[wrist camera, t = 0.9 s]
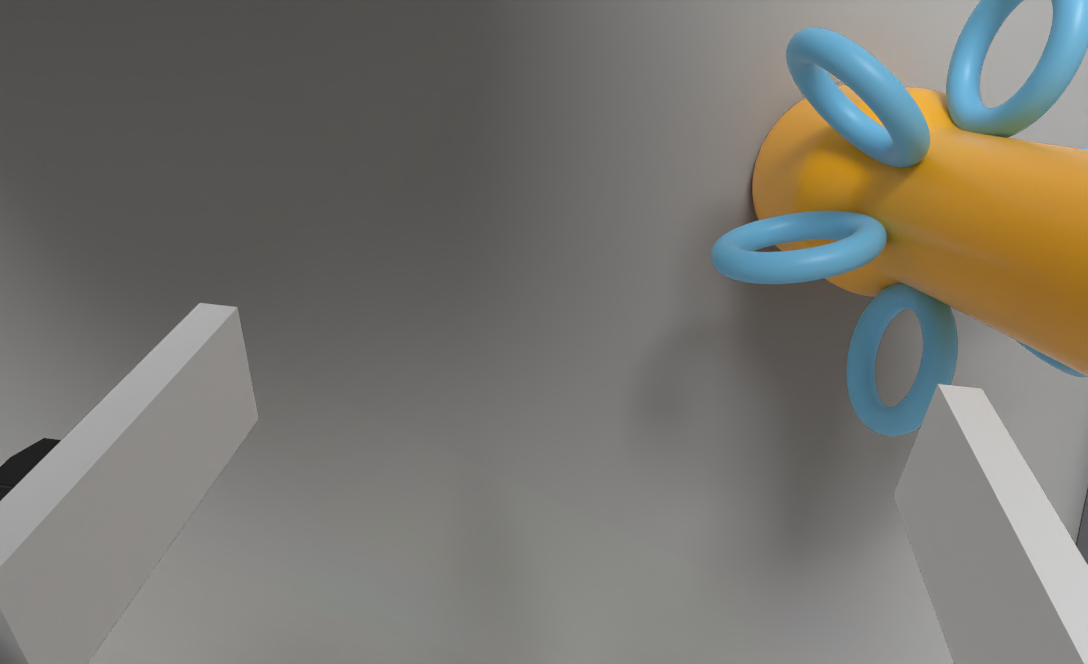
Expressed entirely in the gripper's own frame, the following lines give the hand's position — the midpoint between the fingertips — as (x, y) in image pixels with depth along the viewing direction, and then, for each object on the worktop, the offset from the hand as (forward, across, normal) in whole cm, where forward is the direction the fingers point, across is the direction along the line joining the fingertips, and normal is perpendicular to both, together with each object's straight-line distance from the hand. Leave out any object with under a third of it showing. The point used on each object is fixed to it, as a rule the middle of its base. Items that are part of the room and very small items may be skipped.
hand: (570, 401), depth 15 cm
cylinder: (+14, +8, 0) cm, 16 cm away
